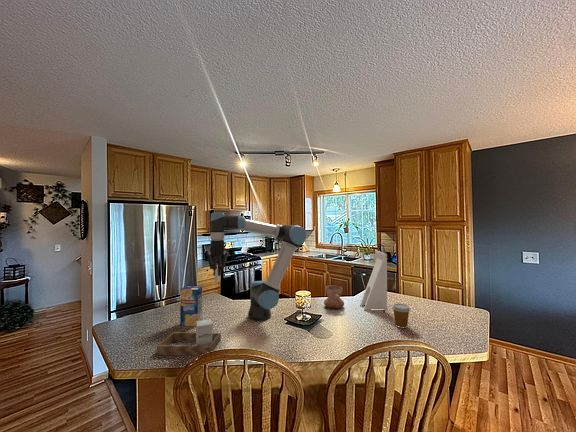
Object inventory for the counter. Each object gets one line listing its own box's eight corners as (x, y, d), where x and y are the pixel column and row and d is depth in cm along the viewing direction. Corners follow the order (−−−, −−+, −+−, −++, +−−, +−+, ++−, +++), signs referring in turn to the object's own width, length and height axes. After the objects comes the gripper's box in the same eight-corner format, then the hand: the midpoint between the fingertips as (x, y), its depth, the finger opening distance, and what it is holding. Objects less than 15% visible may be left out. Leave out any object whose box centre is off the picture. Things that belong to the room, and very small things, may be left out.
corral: (220, 340, 135) (220, 332, 135) (210, 355, 120) (210, 347, 120) (173, 339, 136) (173, 331, 136) (156, 354, 121) (156, 346, 121)
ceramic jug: (347, 310, 177) (347, 290, 177) (327, 311, 175) (327, 290, 176) (339, 302, 195) (339, 284, 195) (321, 303, 193) (321, 284, 194)
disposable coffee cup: (410, 324, 154) (409, 304, 154) (410, 330, 145) (410, 309, 145) (393, 321, 158) (392, 302, 158) (392, 328, 149) (392, 307, 149)
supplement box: (196, 352, 123) (196, 326, 123) (195, 345, 129) (195, 320, 130) (212, 349, 126) (212, 323, 126) (210, 342, 132) (210, 318, 132)
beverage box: (197, 326, 153) (197, 289, 153) (180, 325, 153) (180, 289, 154) (202, 321, 160) (202, 286, 160) (185, 321, 160) (185, 286, 160)
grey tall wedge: (357, 303, 193) (357, 250, 193) (376, 303, 193) (376, 250, 193) (366, 312, 173) (365, 254, 173) (387, 312, 173) (386, 253, 173)
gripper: (230, 239, 147) (230, 280, 146) (208, 239, 148) (208, 279, 148) (226, 240, 139) (226, 283, 139) (203, 240, 140) (203, 283, 140)
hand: (217, 281), depth 143 cm, fingers closed
